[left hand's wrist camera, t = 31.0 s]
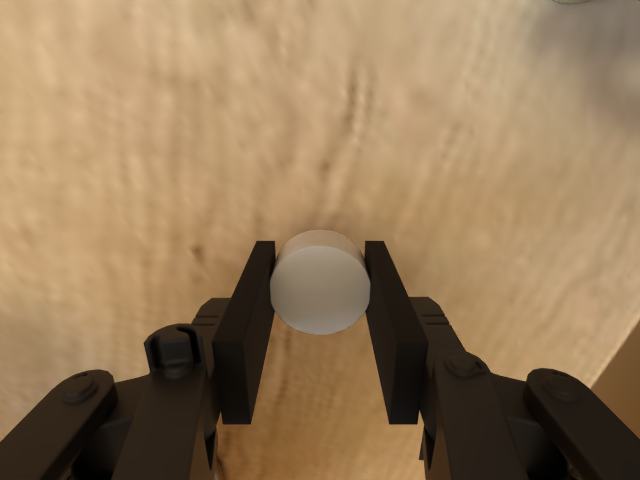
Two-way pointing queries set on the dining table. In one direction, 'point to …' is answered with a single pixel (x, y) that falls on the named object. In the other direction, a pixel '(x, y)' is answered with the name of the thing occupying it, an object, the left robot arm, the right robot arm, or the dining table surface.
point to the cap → (320, 283)
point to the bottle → (570, 1)
